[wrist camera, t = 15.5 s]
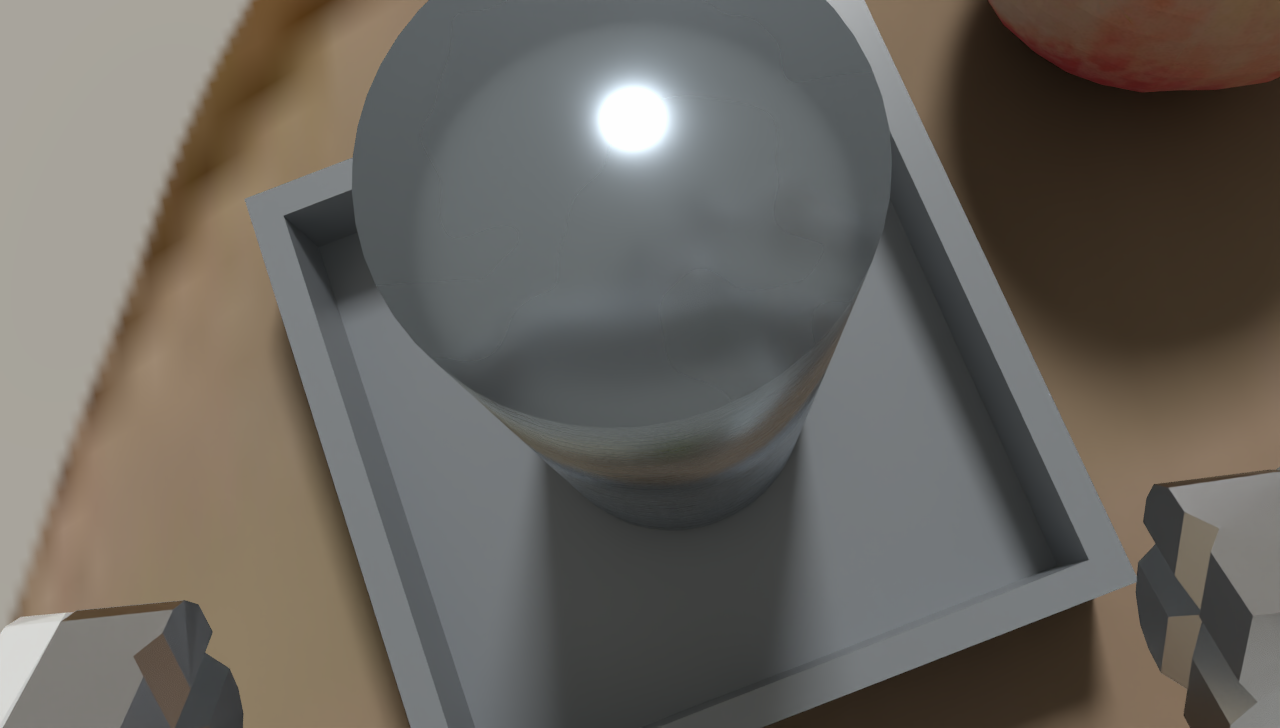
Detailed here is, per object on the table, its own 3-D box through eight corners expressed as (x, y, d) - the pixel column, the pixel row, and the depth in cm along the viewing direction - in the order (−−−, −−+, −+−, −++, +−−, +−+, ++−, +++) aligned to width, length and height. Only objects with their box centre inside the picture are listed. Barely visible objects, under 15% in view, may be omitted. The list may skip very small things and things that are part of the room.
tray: (836, 32, 25) (848, -32, 22) (1092, 585, 22) (1138, 581, 19) (292, 240, 24) (244, 199, 22) (480, 823, 22) (449, 848, 19)
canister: (744, 238, 23) (769, -155, 11) (843, 473, 22) (981, 308, 10) (507, 327, 23) (287, 26, 11) (594, 569, 22) (448, 510, 10)
